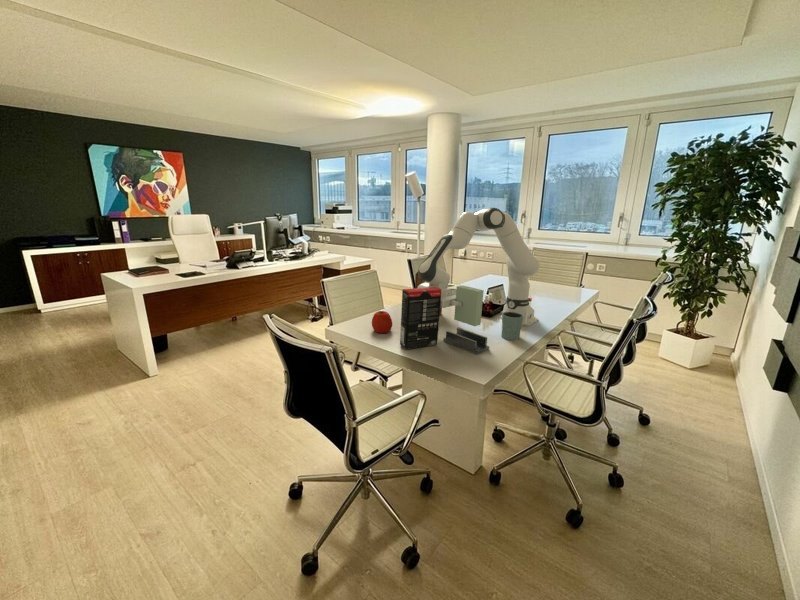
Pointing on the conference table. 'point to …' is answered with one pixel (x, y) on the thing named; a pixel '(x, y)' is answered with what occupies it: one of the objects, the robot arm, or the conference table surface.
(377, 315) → the apple
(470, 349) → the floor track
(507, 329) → the green embossed cup
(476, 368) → the conference table surface
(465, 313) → the green upright rectangular block
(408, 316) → the graphics card box
